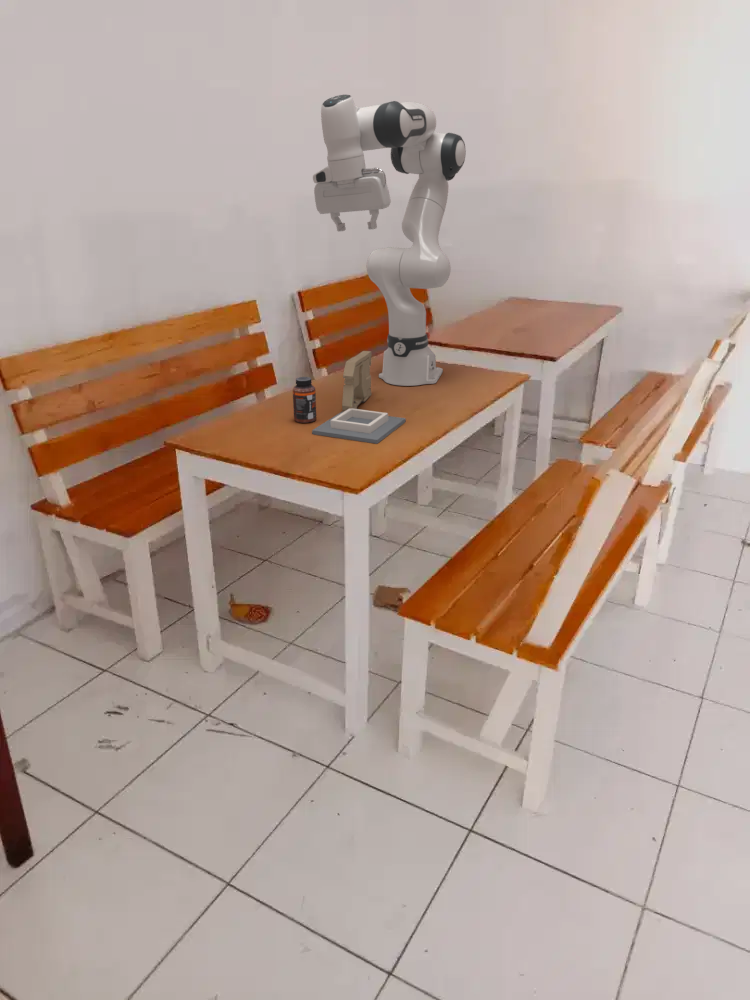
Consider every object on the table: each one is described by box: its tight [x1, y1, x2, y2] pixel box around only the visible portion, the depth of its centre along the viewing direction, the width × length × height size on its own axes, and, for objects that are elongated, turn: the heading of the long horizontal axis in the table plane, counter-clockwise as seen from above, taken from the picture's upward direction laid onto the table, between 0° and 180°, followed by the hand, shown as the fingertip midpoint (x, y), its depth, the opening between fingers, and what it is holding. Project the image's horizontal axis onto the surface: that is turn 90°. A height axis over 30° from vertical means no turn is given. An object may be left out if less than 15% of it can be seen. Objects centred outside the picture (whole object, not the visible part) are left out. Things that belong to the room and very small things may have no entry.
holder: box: [311, 408, 407, 445], centre depth 202 cm, size 18×18×3 cm
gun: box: [341, 350, 372, 412], centre depth 217 cm, size 24×3×15 cm, turn 168°
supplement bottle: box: [292, 376, 318, 424], centre depth 206 cm, size 6×6×11 cm
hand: (357, 229), depth 196 cm, fingers open, 8 cm apart
